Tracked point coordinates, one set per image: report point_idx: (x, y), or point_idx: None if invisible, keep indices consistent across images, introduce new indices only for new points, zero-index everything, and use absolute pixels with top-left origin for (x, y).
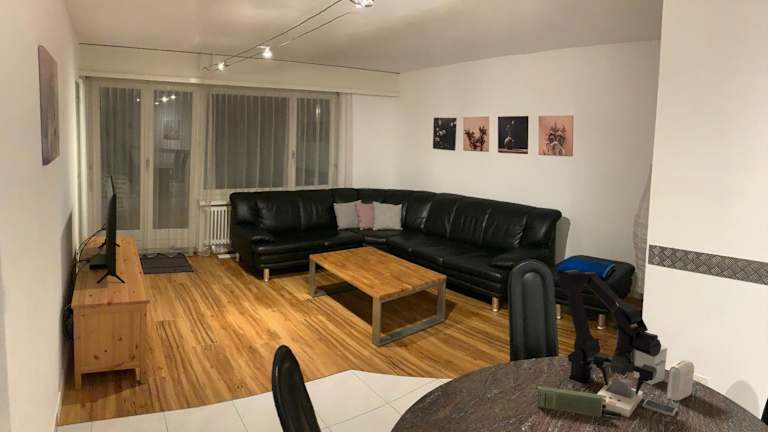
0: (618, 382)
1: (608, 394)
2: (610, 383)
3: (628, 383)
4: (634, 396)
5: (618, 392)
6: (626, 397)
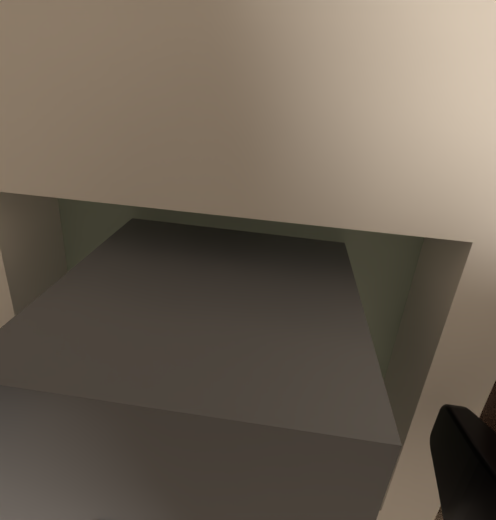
0: (222, 466)
1: (394, 106)
2: (393, 504)
3: (21, 512)
4: (9, 304)
5: (229, 278)
6: (78, 194)
